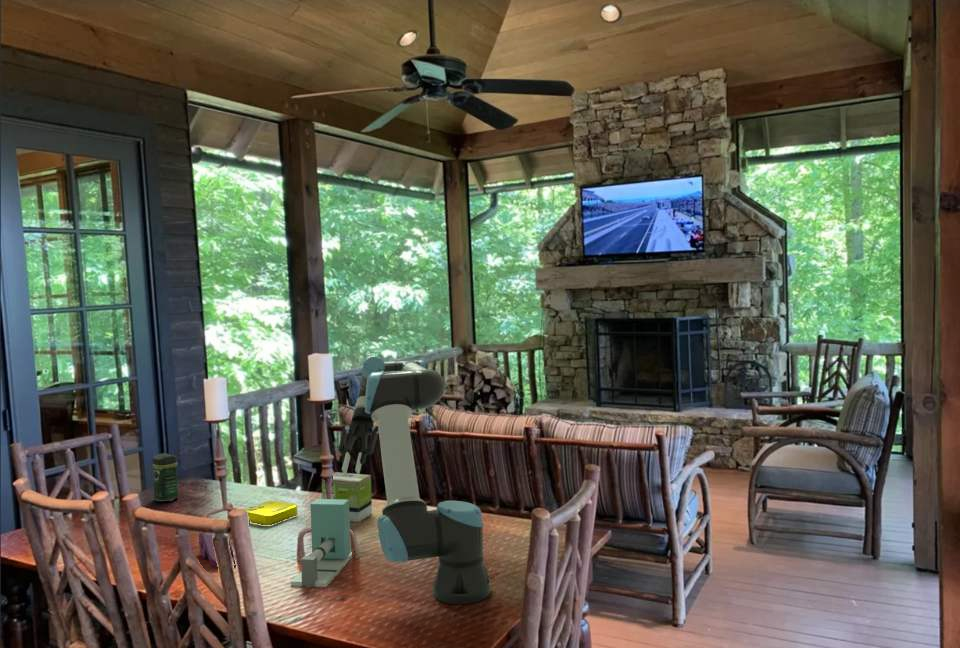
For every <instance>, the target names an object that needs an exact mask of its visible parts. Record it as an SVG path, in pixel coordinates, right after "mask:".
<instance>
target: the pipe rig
mask: <svg viewBox="0 0 960 648" xmlns="http://www.w3.org/2000/svg"><path fill="white" fill-rule="evenodd" d="M334 546H335V538H330V537H327V539H326V540H325V541H324V542H323V543H322V544H321V545H320V546H319V547H317V548H316V549H314V551H313V553H312V552H311V553H310V555H304V556H303V557H302V558H301V559H300V565H301V566H300V567H301V568H300V569H301V571H300V572H299V573H298V574H297V575H296V576H295V577H294V578H293V579H292V580H290V586H291V585H292V586H291V587H302V586H308V587H307V588H315V586H316V588H327V587H328V586H329V585H330V584H331V583H332V581H334V579H335V578H336V577H337V576H338V575H339V573H340V572H341V571H342V570H343V569H344V568H343V567H345V566H347V564H348V563H349V562H350V561H351V560H350V558H351V557H352V552H351V553H350V554H349V555H348V556H347V557H346V558H345V559H332V558H324V557H325V555H326V554H327V553H328V552H329V551H330V550H331V549H332V548H333V547H334ZM352 558H353V557H352ZM352 558H351V559H352ZM349 560H350V561H349ZM348 561H349V562H348ZM347 562H348V563H347ZM346 563H347V564H346ZM342 568H343V569H342ZM341 569H342V570H341ZM340 570H341V571H340ZM335 576H336V577H335ZM334 577H335V578H334ZM328 584H329V585H328Z"/></svg>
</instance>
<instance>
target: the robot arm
mask: <svg viewBox="0 0 960 648" xmlns="http://www.w3.org/2000/svg"><path fill="white" fill-rule="evenodd" d="M360 378H361V379H360V386H359V390H358V395H357V399H356V403H355V405H354V410H353V413H352V417H351V422H350V423H349V425H347V426H345V425H342V426H341V435H340V440H339V445H338V451H339V453H340V454H341V455H342V458H341V463H342V466H341V471H342V473H344V474H346V473H348V468H349V464H350V460H351V455H350V453H351V450H352V449H353V446H354V444H355V442H356V440H358V438H359V437H361V451H360V452H358V456H357V459H356V464H355V467H354V468H355V469H354V471H355V474H361V473H360V472H361V470H362V465H364V464H365V463H366V459H367V456H369V455H370V456H371V455H373V453H374V450H375V448H376V447H375V446H376V442H377V440H378V437H379V446H380V454H381V463H382V471H383V472H382V473H383V478H384V487H385V497H386V504H385V506H384V507H383V508H382V511H381V514H382V515H380V516H379V517H378V518H377V531H378V538H379V543H380V547H381V550H382V554H383V555H384V557H385V559H386V560H387V561H388V562H390V563H401V562H403V563H407V562H408V561H409V562H411V561H416V560H417V561H418V560H424V559H431V558H437V557H438V566H437V570H436V575H435V578H434V581H433V584H432V594H433V597H434V598H435V599H436V600H438V601H440V602H442V603H446V604H449V605H450V604H451V605H452V604H453V605H466V604H467V605H468V604H473V603H477V602H480V601H483V600H485V599H486V598H488V597H489V596H490V595H491V592H492V591H491V590H492V588H491V587H492V586H491V585H492V584H491V581H490V578H489V574H488V571H487V569H486V565H485V563H484V536H483V535H484V532H483V531H484V530H483V527H484V523H483V515H482V511H481V508H480V507H479V506H477V505H476V504H473V503H470V502H467V501H461V500H444V501H440V502H439V503H438V504H437V506H436V509H434V510H428V506H427V502H426V501H424V499H421V498H420V492H419V485H418V484H419V483H418V478H417V472H416V470H417V469H416V464H415V459H414V458H415V457H414V450H413V445H412V438H411V437H412V436H411V430H410V424H409V419H410V418H411V417H412V415H413V411H417V410H418V411H419V410H424V409H427V408H430V407H432V406H434V405H436V404H437V403H438V402H439V401H440V400H441V399H442V398H443V396H444V394H445V391H446V382H445V379H444V377H443V375H442V374H441V373H439V372H438V371H436V370H434V369H429V368H427V364H426V362H425V361H424V360H422V359H421V360H419V359H418V360H417V359H412V360H397V361H396V360H393V361H392V360H391V361H385V360H383V358H382V357H378V356H377V355H372V356H371V355H370V356H368V357H367V358H366V359H364V361H363V362H362V366H361V377H360ZM374 423H376V424H377V425H376V426H375V425H374ZM349 432H350V435H349V437H348V434H349ZM370 433H371V435H370V439H369V443H368V437H369V436H368V435H369V434H370Z"/></svg>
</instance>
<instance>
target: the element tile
mask: <svg viewBox="0 0 960 648" xmlns="http://www.w3.org/2000/svg"><path fill="white" fill-rule="evenodd" d="M244 509H245V510H247V512H248V516H249V525H251V524H250V521H251V522H252V523H257V524H261V525H272V524H275V523H278V522H280V521H283V520H285V519H288V518H290V517H293V516H296V515H298V505H297V504H295V503H290V502H285V501H280V500H272V499H270V500H267V501H264V502H261V503H258V504H255V505H252V506H248V507H246V508H244Z"/></svg>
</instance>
